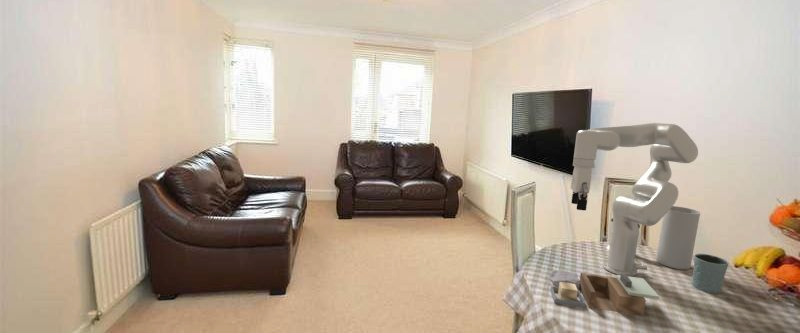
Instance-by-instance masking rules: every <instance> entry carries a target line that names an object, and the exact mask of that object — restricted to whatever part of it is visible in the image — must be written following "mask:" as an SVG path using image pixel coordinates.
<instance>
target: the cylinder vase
mask: <svg viewBox="0 0 800 333" xmlns="http://www.w3.org/2000/svg"><path fill="white" fill-rule="evenodd" d="M700 216H701V212H700V210H696V209H692V208H689V207H683V206H675V205H673V206H672V207H671V208H670V209H669V211H668V212H667V213H666V214H665V215H664V216H663V217H662V218H661V219H662V220H661V225H660V231H659V232H660V233H659V237H658V238H659V239H658V244H657V250H656V256H655V261H656V262H657V263H659V264H660V265H662V266H665V267H667V268H671V269H674V270H689V269H690V268H691V267H692V260H693V255H694V251H695V244H696V238H697V235H698V234H697V232H698V227H699V222H700Z"/></svg>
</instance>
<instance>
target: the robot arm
mask: <svg viewBox="0 0 800 333" xmlns="http://www.w3.org/2000/svg"><path fill="white" fill-rule="evenodd" d="M574 145H575V146H574V150H573V151H574V153H573V160H572V161H573V162H572V166H573V167H574V168H573V171H572V178H571V184H570V189H571V190H572V195H571V204H573V205H576V210H577V211H586V210H587V205H588V194H590V190H591V181H592V173H593V172H592V169H594V168H595V167H596V162H597V161H596V160H597V152H598V150H599V151H606V152H610V151H611V152H612V151H614V150H616V149H617V148H618V147H621V148H636V147H641V146H650V148H649V155H650V159H649V160H650V162H649V167H648V169H646V171H645V172H644V173H643V174H642V176H641V177H640V178H639V179H638V180H636V182H635V183H634V185H633V186H632V188H631V194H632V195H633V196H631V195H625V194H624V195H619V196H617V197H616V198H615V199H614V200H613V202H612V218H613V222H612V223H613V226H612V233H611V232H610V234H611V235H610V240H609V246H610V247H609V250H608V255H607V261H604V262H603V263H602V268H603V269H604V270H605V271H607V272H610V273H613V274H615V275H621V274H626V275H627V276H629V277H635V276H637V275H638V270H642V271H647V270H648V265H645V264H642V263H640V262H636V261H635V260H636V255H637V248H638V241H639V240H638V239H639V235H640V228H638V224H639V225H643V226H647V227H651V226H654V225H657V224H658V223H659V222H660V221H662V220H661V219H663V216H664V215H665V214H666V213H667V212H668V211H669V209H670V208H671V207H672V206H675V204H676V202H677V200H678V197H679V189H678V186H677V185H676V184H674V183H673V182H671V181H670V179H671V178H672V169H671V167H670V162H674V163H678V164H679V163H680V164H691V163H693V162H694V161H696V159H697V158H698V156H699V149H698V148H699V147H698V146H697V144H696V143H695V141H693V139H692V138H691V136H690V135H689V134H688V133H687V132H686V131H685V130H684V129H683V128H682V127H681V126H679V125H678V124H676V123H675V124H674V123H660V122H658V123H657V122H652V123H651V122H650V123H644V124H634V125H621V126H609V127H598V128H597V127H596V128H589V129H579V130H578V131H577V132H576V136H575V144H574ZM637 223H638V224H637Z"/></svg>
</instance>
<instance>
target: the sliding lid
mask: <svg viewBox="0 0 800 333" xmlns="http://www.w3.org/2000/svg"><path fill="white" fill-rule="evenodd" d="M615 278H617V279H618V280H619V282H620V283H621V285H622V286H623V287H624V289H625V290H626V291H627V293H628V294H629V295H632V296H639V297H644V298H645V299H646V298H647V299H653V300H660V296H659V294H657V292H656V291H655V290H654V288H652V286H650V284H649V283H648V282H647V280H645V279H644V278H643V277H635V276H627V275H626V274H621V275H619V274H616V276H615Z"/></svg>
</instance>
